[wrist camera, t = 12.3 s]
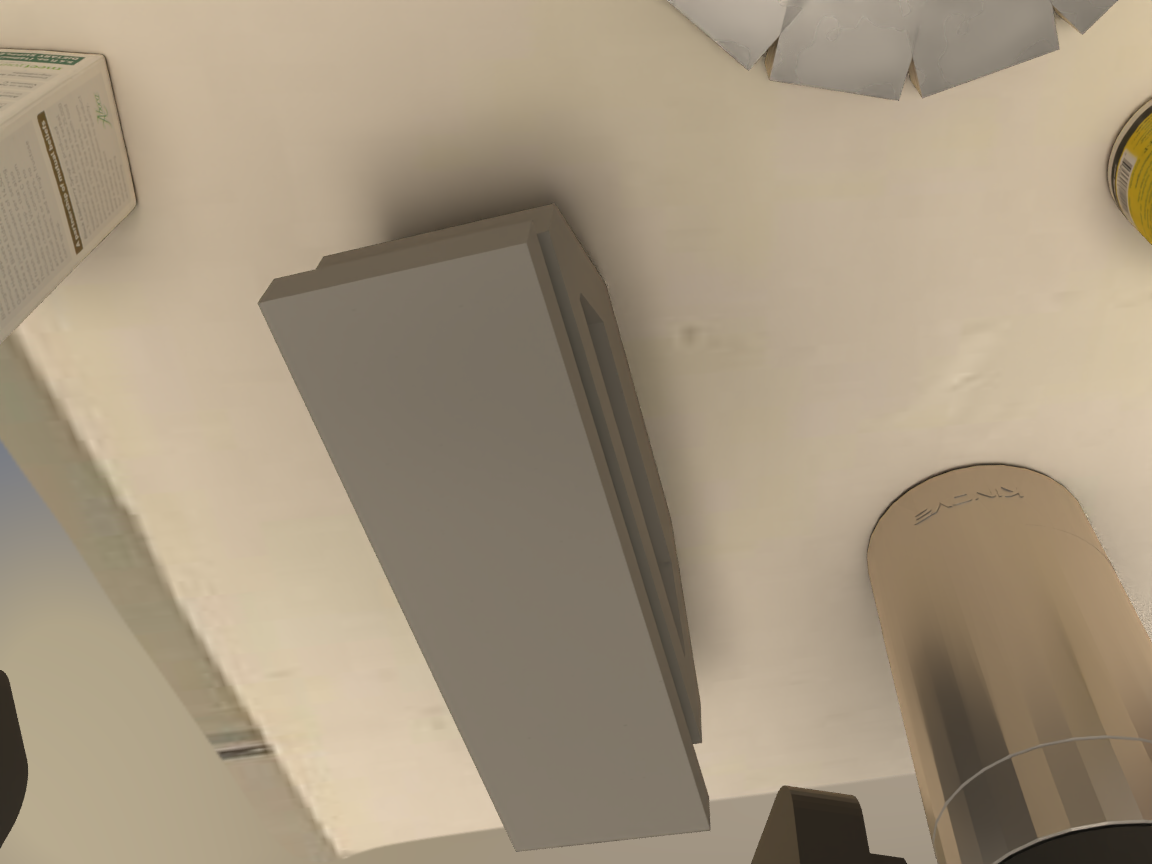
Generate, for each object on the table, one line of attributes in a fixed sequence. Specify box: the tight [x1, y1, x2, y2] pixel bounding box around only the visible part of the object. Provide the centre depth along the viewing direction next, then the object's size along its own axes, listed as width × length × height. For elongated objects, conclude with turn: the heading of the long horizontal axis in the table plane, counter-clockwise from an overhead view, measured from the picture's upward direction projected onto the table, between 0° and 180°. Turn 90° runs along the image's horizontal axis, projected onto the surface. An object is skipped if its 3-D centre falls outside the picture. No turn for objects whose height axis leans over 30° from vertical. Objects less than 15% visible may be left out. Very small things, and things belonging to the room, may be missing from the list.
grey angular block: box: [258, 203, 710, 852], centre depth 41 cm, size 25×8×11 cm, turn 15°
